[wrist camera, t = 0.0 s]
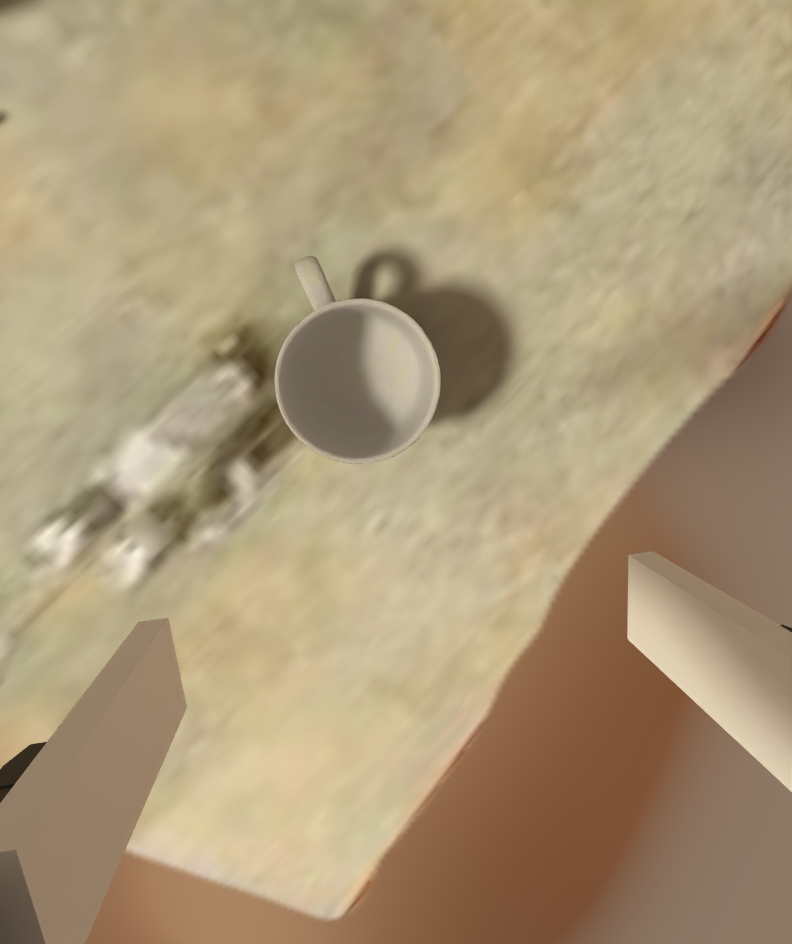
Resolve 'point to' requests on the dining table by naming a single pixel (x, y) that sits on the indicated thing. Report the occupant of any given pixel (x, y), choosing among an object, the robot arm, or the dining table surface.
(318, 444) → the teacup
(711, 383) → the dining table surface
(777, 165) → the dining table surface
